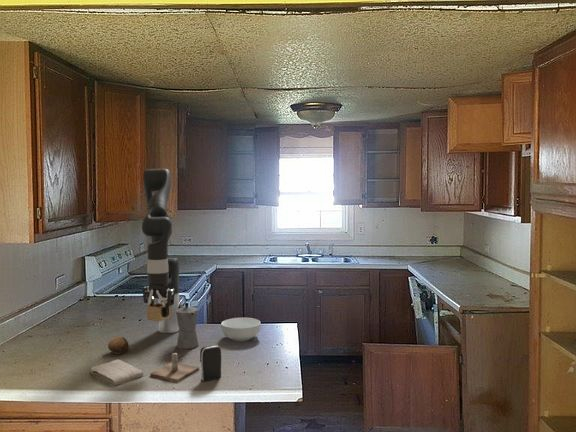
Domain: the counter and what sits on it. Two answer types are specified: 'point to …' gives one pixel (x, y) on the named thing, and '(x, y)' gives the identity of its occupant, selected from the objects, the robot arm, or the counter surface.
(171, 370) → the post base
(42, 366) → the counter surface
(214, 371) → the battery charger
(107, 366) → the washcloth
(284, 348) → the counter surface
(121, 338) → the brown round lump
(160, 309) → the collar
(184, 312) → the coffeepot
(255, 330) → the cereal bowl
